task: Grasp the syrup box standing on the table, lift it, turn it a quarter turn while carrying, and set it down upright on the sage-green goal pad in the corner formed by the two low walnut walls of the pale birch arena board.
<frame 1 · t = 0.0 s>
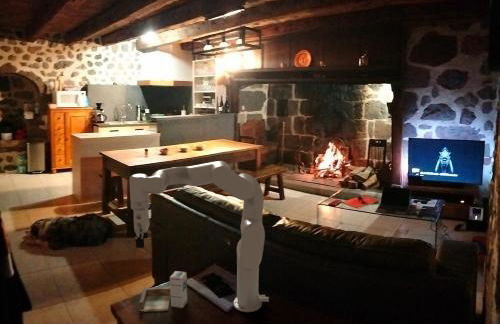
hand: (142, 242, 170), 31 cm above the table, fingers open, 9 cm apart
arena board: (155, 303, 181), on the table
syrup box: (179, 304, 181), on the table
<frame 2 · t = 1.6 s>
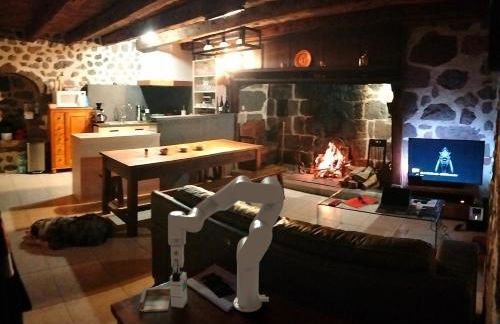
hand: (177, 275, 178), 14 cm above the table, fingers open, 9 cm apart
nothing on the table moved.
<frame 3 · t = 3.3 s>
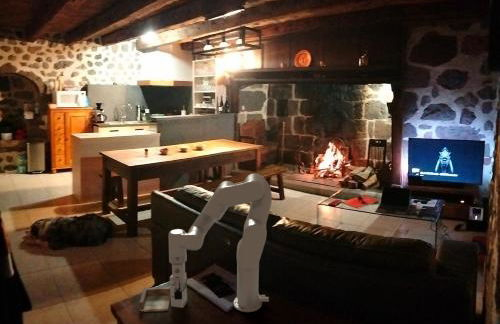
hand: (178, 294, 180), 5 cm above the table, fingers closed on syrup box, 6 cm apart
syrup box: (179, 304, 181), on the table, touching gripper
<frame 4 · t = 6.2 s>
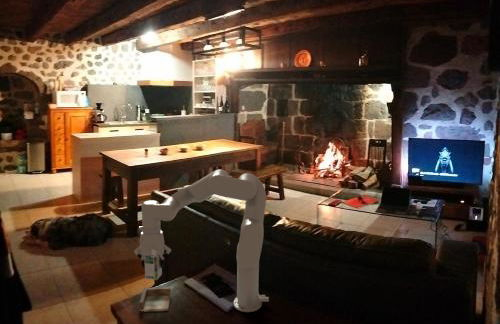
hand: (153, 266, 178), 18 cm above the table, fingers closed on syrup box, 6 cm apart
syrup box: (153, 277, 179), point 13 cm above the table, touching gripper
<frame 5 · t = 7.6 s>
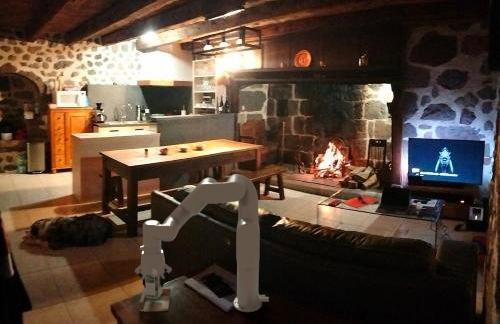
hand: (153, 285, 180), 9 cm above the table, fingers closed on syrup box, 6 cm apart
syrup box: (154, 295, 181), point 4 cm above the table, touching gripper
when the fingers open (7 cm above the table, at t = 9.0 s): syrup box stays where it is, resting on arena board.
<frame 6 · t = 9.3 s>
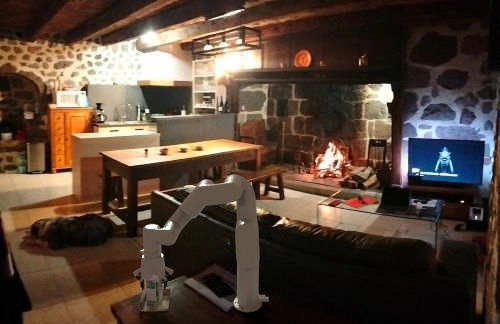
hand: (154, 288, 180), 7 cm above the table, fingers open, 9 cm apart
syrup box: (155, 301, 181), point 1 cm above the table, touching arena board
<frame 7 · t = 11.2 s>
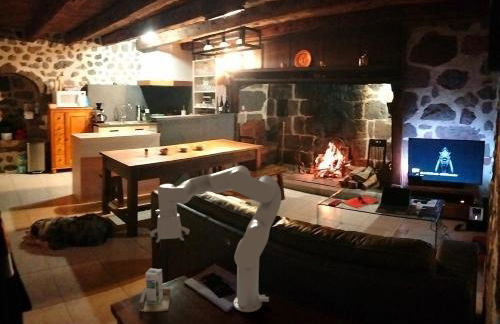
hand: (171, 248, 180), 25 cm above the table, fingers open, 9 cm apart
nothing on the table moved.
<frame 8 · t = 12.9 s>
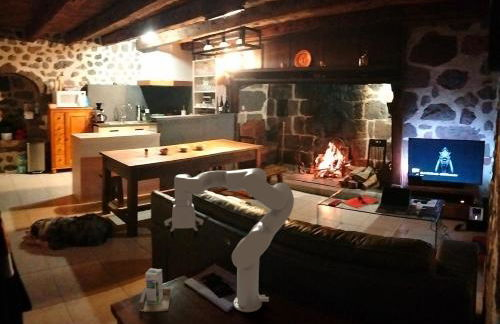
hand: (184, 238, 182), 28 cm above the table, fingers open, 9 cm apart
nothing on the table moved.
at the end: syrup box inside the target area (0.1 cm from its centre), point 0.9 cm above the table; syrup box tilted 0°; the gripper is holding nothing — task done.
